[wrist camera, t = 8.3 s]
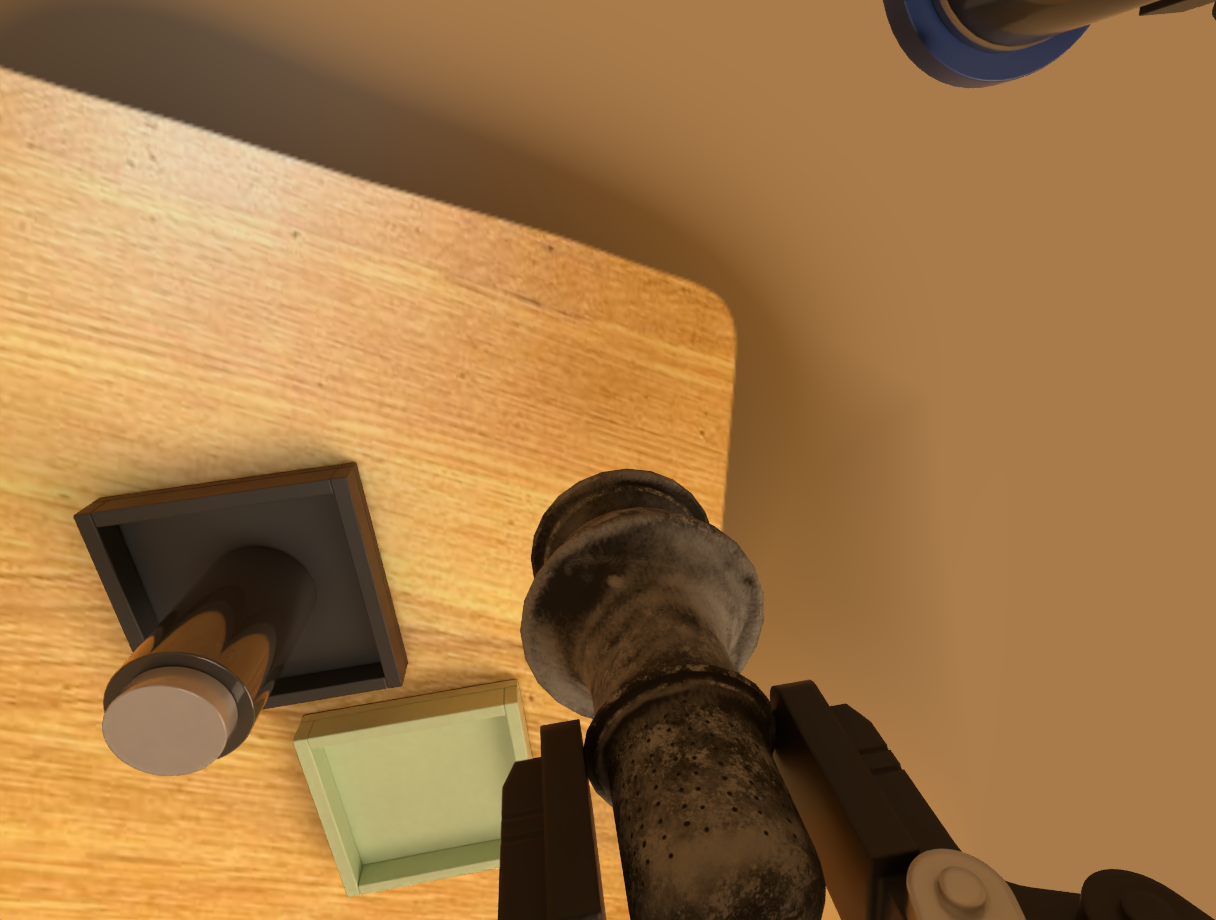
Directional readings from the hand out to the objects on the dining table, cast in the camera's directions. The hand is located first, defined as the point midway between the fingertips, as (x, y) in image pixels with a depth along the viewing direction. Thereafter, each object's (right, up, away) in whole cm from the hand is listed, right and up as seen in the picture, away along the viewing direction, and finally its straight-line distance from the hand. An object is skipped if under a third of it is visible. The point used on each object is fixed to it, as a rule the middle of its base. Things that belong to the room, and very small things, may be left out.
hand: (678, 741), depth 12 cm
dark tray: (-20, -2, +23) cm, 31 cm away
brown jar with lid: (-20, -2, +23) cm, 30 cm away
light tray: (-12, -15, +29) cm, 35 cm away
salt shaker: (-1, +3, +7) cm, 7 cm away
